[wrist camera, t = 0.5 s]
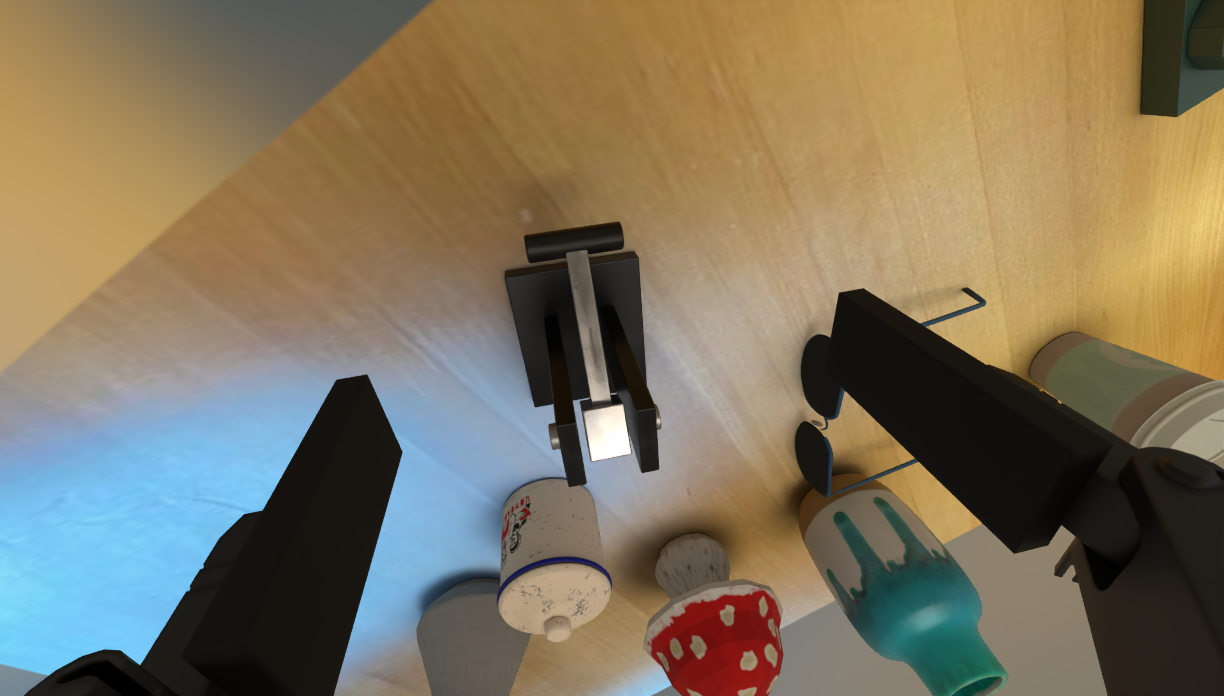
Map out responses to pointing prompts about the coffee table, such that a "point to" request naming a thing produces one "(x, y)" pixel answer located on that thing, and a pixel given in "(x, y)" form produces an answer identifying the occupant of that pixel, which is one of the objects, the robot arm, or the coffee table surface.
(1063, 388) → the coffee cup
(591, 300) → the lever
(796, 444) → the sunglasses
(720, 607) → the decorative mushroom
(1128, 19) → the coffee table surface
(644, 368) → the black lever stand
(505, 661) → the coffee pot
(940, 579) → the vase
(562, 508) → the teacup with lid
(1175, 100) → the button housing
